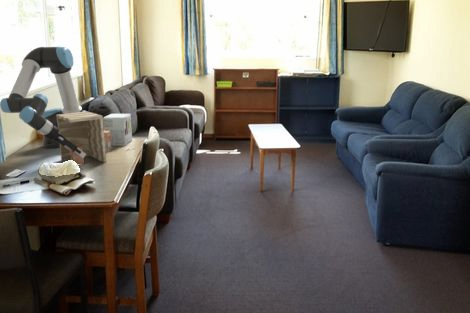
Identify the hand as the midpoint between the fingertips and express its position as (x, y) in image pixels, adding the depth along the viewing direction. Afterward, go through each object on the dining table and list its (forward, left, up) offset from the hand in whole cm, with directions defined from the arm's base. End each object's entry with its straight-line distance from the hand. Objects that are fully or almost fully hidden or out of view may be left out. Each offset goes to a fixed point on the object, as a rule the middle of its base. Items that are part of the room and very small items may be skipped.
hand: (79, 153), depth 249 cm
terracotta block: (0, -2, -5) cm, 6 cm away
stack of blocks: (-23, +16, -6) cm, 29 cm away
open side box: (-3, +3, -5) cm, 7 cm away
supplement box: (-33, +38, -6) cm, 51 cm away
